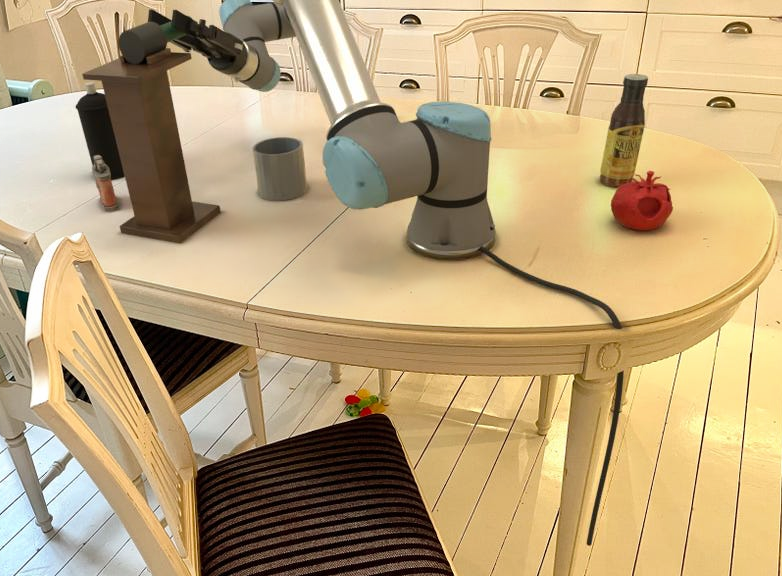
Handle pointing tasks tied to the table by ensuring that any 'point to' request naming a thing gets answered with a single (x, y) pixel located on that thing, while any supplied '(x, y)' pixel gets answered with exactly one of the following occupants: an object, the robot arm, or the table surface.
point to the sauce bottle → (625, 133)
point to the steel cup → (280, 168)
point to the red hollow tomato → (642, 203)
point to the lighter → (104, 184)
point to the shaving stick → (146, 40)
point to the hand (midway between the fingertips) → (161, 17)
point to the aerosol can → (99, 130)
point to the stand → (151, 147)
